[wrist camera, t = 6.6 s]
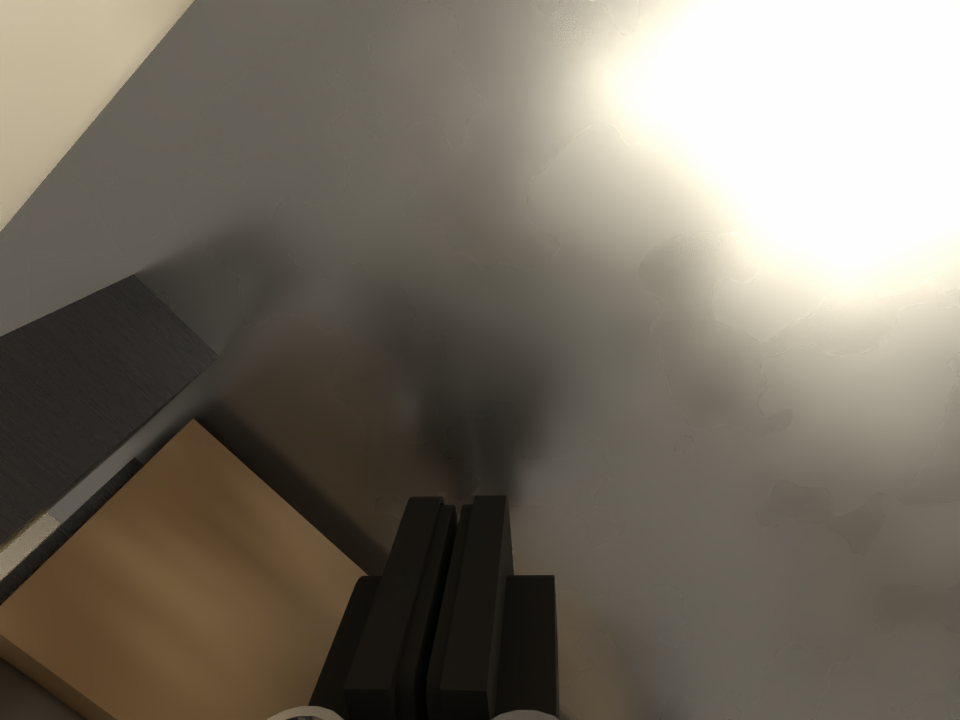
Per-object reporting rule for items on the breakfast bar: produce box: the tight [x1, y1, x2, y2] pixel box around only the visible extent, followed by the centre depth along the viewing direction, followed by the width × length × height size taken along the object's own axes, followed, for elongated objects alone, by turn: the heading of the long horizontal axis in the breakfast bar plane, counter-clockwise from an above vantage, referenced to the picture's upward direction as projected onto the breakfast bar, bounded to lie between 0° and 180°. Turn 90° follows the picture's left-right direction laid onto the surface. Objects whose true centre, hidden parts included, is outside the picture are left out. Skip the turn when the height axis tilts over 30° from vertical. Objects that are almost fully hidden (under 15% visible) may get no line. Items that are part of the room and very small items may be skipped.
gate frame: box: [0, 0, 960, 720], centre depth 10 cm, size 22×18×7 cm
